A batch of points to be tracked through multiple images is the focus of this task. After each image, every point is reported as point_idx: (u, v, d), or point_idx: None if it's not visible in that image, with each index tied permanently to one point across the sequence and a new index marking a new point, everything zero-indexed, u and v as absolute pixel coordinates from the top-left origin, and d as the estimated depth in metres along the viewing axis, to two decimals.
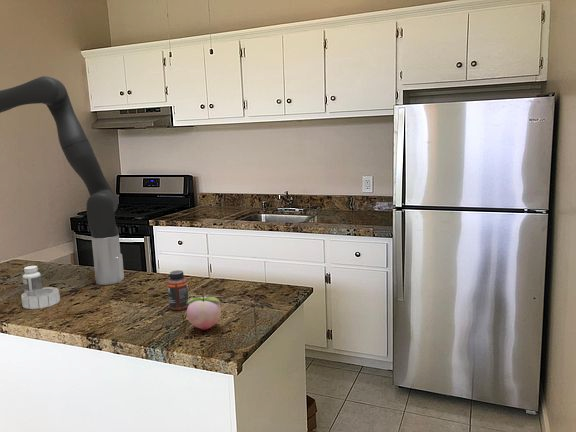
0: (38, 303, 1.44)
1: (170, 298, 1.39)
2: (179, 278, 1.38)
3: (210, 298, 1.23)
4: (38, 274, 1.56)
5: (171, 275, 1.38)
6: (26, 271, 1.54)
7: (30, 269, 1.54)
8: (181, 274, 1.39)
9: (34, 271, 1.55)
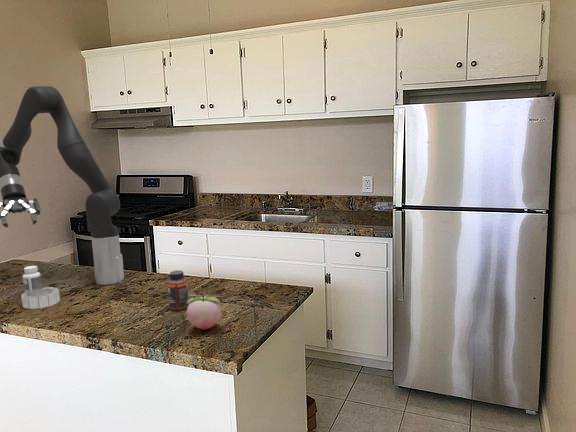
0: (38, 303, 1.44)
1: (170, 298, 1.39)
2: (179, 278, 1.38)
3: (210, 298, 1.23)
4: (38, 274, 1.56)
5: (171, 275, 1.38)
6: (26, 271, 1.54)
7: (30, 269, 1.54)
8: (181, 274, 1.39)
9: (34, 271, 1.55)
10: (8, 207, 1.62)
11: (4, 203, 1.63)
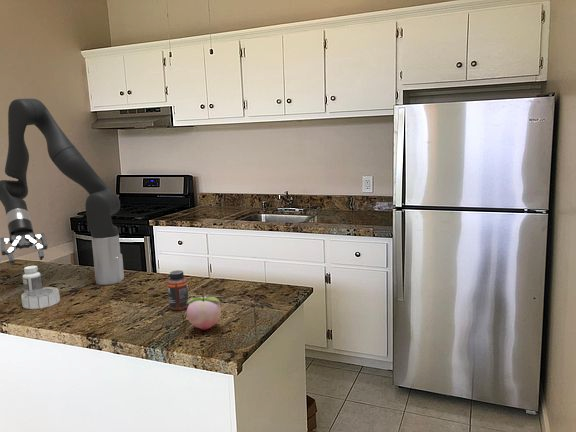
0: (38, 303, 1.44)
1: (170, 298, 1.39)
2: (179, 278, 1.39)
3: (210, 298, 1.23)
4: (38, 274, 1.56)
5: (171, 275, 1.38)
6: (26, 271, 1.54)
7: (30, 269, 1.54)
8: (181, 274, 1.39)
9: (34, 271, 1.55)
10: (15, 243, 1.61)
11: (11, 239, 1.62)
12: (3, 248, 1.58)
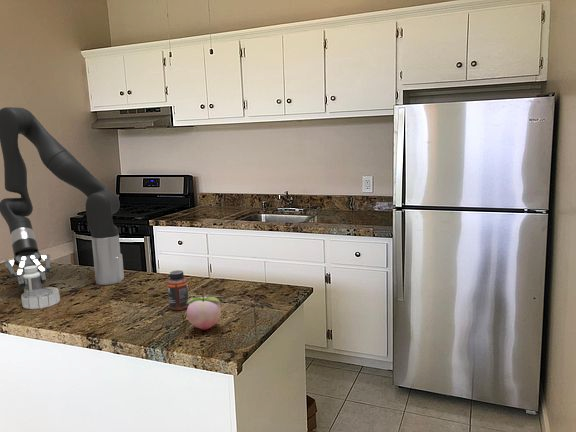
0: (38, 303, 1.44)
1: (170, 298, 1.39)
2: (179, 278, 1.39)
3: (210, 298, 1.23)
4: (38, 274, 1.56)
5: (171, 275, 1.38)
6: (26, 271, 1.54)
7: (30, 269, 1.54)
8: (181, 274, 1.39)
9: (34, 271, 1.55)
10: (22, 264, 1.56)
11: (16, 260, 1.56)
12: (12, 271, 1.53)
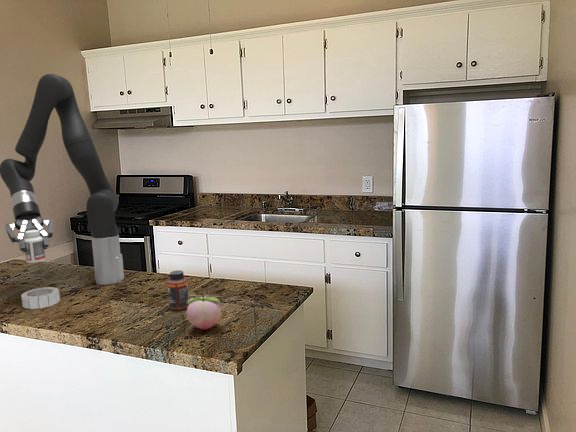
0: (38, 303, 1.44)
1: (170, 298, 1.39)
2: (179, 278, 1.38)
3: (210, 298, 1.23)
4: (40, 238, 1.46)
5: (171, 275, 1.38)
6: (27, 235, 1.44)
7: (32, 233, 1.44)
8: (181, 274, 1.39)
9: (36, 235, 1.45)
10: (23, 228, 1.46)
11: (17, 224, 1.47)
12: (12, 235, 1.44)
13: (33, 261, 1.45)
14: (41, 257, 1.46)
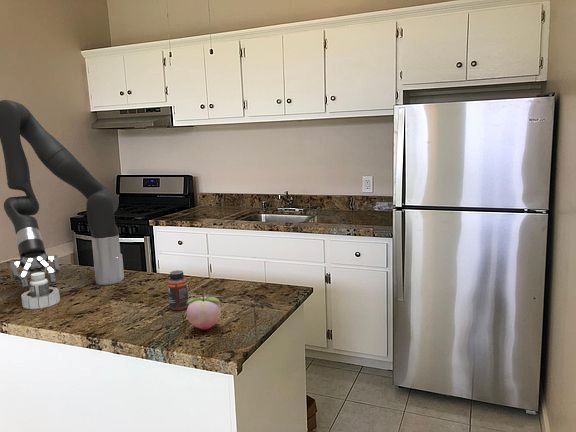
0: (38, 303, 1.44)
1: (170, 298, 1.39)
2: (179, 278, 1.38)
3: (210, 298, 1.23)
4: (46, 281, 1.48)
5: (171, 275, 1.38)
6: (33, 278, 1.46)
7: (37, 276, 1.46)
8: (181, 274, 1.39)
9: (41, 278, 1.47)
10: (27, 266, 1.47)
11: (22, 262, 1.48)
12: (15, 273, 1.45)
13: None
14: None
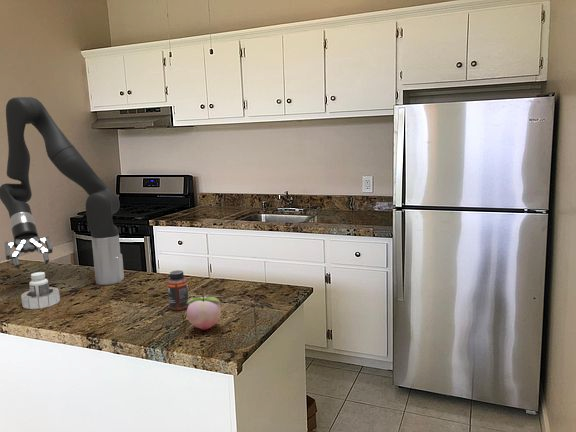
0: (38, 303, 1.44)
1: (170, 298, 1.39)
2: (179, 278, 1.38)
3: (210, 298, 1.23)
4: (46, 281, 1.48)
5: (171, 275, 1.38)
6: (33, 278, 1.46)
7: (37, 276, 1.46)
8: (181, 274, 1.39)
9: (41, 278, 1.47)
10: (20, 247, 1.58)
11: (15, 243, 1.59)
12: (8, 252, 1.55)
13: None
14: None
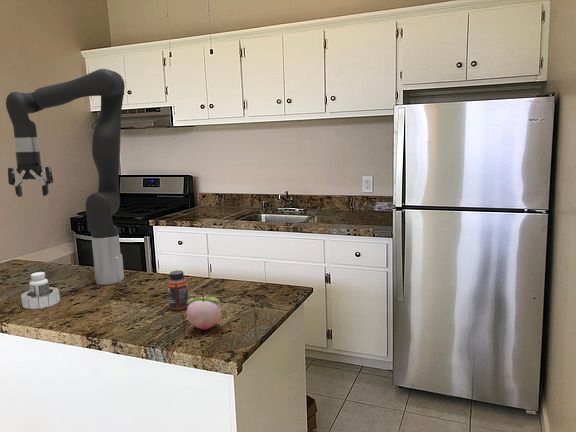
0: (38, 303, 1.44)
1: (170, 298, 1.39)
2: (179, 278, 1.38)
3: (210, 298, 1.23)
4: (46, 281, 1.48)
5: (171, 275, 1.38)
6: (33, 278, 1.46)
7: (37, 276, 1.46)
8: (181, 274, 1.39)
9: (41, 278, 1.47)
10: (20, 178, 1.63)
11: (17, 171, 1.63)
12: (10, 181, 1.63)
13: None
14: None
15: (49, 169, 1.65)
